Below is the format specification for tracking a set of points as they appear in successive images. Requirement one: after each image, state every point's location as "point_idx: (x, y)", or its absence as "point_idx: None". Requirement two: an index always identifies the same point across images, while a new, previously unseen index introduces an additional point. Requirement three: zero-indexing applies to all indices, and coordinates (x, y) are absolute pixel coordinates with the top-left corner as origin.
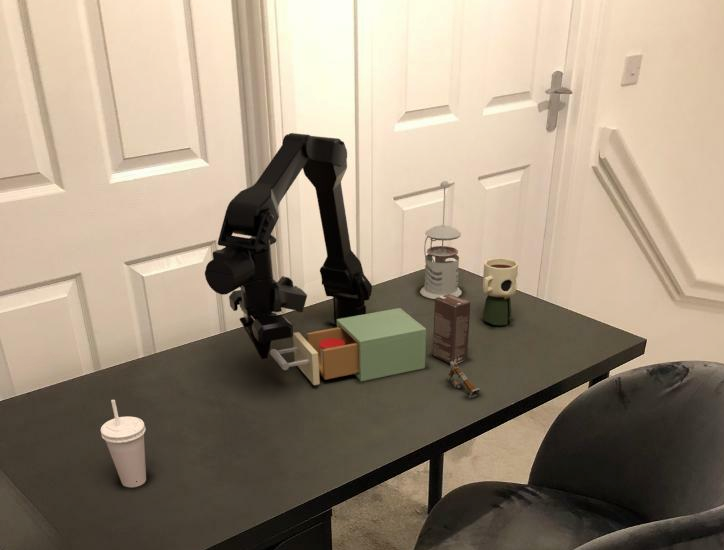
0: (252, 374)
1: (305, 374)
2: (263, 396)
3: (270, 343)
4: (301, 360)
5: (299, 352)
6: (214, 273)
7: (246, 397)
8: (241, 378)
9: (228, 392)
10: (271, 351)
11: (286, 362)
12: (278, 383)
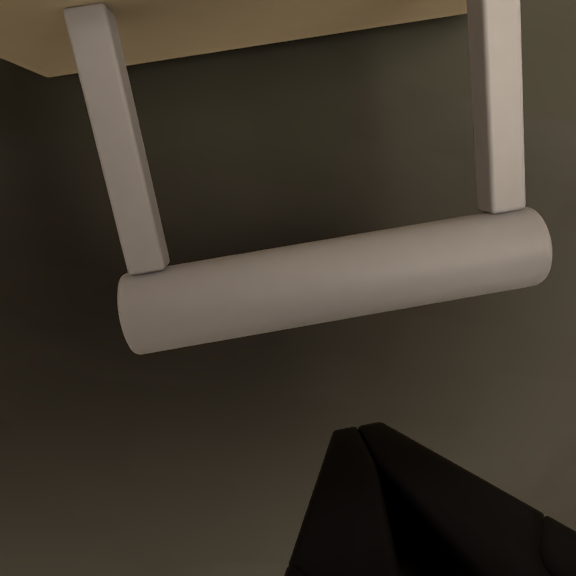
0: (118, 402)
1: (311, 34)
2: (446, 370)
3: (539, 515)
4: (488, 39)
5: (165, 5)
6: None
7: None
8: (163, 469)
9: None
10: (163, 346)
11: (516, 232)
12: None
